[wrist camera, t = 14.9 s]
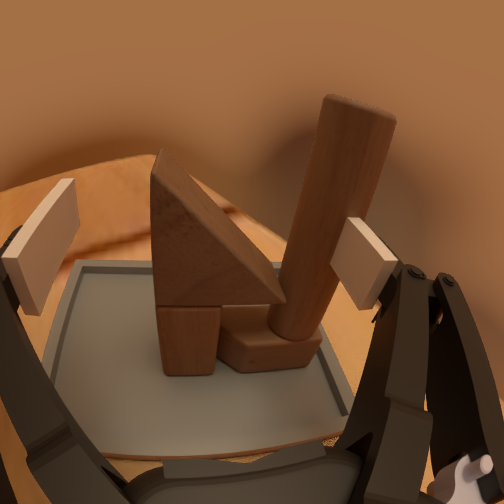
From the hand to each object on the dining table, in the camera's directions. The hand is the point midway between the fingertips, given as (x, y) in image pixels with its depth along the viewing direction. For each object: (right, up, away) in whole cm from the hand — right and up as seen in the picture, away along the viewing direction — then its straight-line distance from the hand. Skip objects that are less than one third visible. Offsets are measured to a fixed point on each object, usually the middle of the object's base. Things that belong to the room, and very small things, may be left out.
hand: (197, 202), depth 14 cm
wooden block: (+1, -10, +6) cm, 12 cm away
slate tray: (-2, -10, +7) cm, 12 cm away
